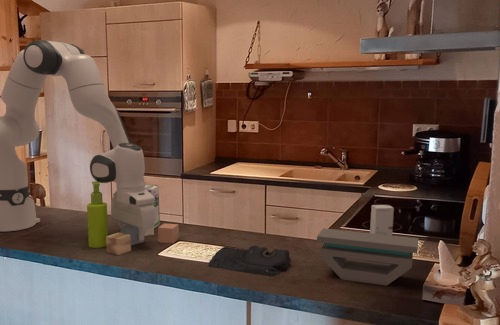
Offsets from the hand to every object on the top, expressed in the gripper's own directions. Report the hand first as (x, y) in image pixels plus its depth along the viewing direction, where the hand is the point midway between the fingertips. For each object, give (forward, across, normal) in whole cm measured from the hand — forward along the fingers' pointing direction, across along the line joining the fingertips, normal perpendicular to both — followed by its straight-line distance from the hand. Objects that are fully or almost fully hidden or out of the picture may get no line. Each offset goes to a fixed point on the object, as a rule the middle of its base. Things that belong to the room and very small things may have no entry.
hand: (132, 236), depth 159 cm
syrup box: (+2, -11, +14) cm, 18 cm away
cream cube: (+2, -5, +8) cm, 10 cm away
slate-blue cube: (+2, 0, 0) cm, 2 cm away
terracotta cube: (+2, +7, +9) cm, 12 cm away
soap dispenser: (+2, -5, -9) cm, 11 cm away
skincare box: (+2, +57, +56) cm, 80 cm away
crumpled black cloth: (+2, +40, +13) cm, 42 cm away
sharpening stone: (+2, +69, +27) cm, 74 cm away
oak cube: (+2, +5, -8) cm, 10 cm away
